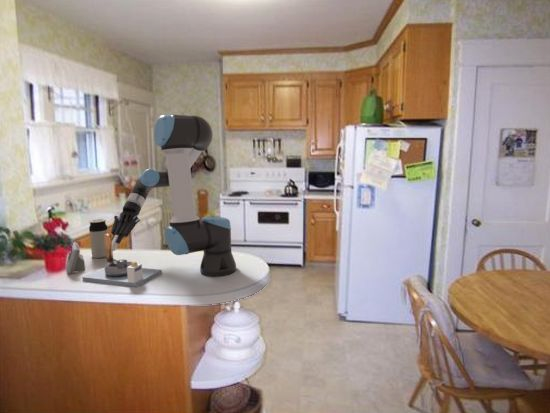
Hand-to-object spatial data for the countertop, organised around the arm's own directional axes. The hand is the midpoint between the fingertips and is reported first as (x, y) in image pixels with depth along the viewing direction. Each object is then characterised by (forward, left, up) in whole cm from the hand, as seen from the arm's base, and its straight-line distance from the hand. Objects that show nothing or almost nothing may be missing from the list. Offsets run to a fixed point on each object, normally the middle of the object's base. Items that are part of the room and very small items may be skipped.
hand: (111, 249), depth 165 cm
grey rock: (+17, +4, -9) cm, 20 cm away
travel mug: (+20, -15, -9) cm, 26 cm away
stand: (-11, +7, -9) cm, 16 cm away
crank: (-7, +6, -7) cm, 12 cm away
